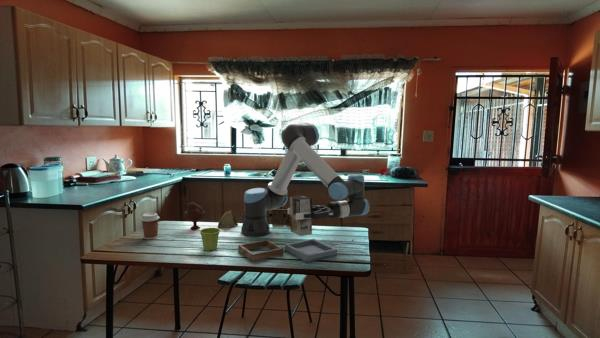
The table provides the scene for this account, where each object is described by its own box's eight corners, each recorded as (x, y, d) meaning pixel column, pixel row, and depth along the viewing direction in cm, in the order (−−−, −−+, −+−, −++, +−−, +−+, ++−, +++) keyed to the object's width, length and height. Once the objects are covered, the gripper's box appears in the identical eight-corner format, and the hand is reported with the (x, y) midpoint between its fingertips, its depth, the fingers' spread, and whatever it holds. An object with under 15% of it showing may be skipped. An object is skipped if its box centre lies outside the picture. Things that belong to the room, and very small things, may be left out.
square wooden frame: (238, 251, 164) (238, 244, 164) (267, 245, 172) (267, 239, 172) (252, 261, 152) (252, 254, 152) (283, 255, 160) (283, 248, 160)
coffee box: (312, 234, 158) (312, 198, 156) (299, 236, 154) (299, 199, 153) (302, 229, 166) (302, 194, 164) (289, 231, 162) (289, 196, 161)
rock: (213, 224, 201) (228, 223, 198) (216, 210, 206) (231, 209, 202) (222, 231, 210) (237, 231, 207) (225, 218, 214) (240, 217, 211)
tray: (285, 250, 166) (285, 244, 165) (313, 244, 174) (313, 238, 174) (306, 263, 151) (306, 256, 150) (336, 255, 159) (337, 249, 159)
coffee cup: (139, 236, 186) (138, 213, 184) (157, 233, 191) (156, 211, 190) (143, 241, 178) (142, 217, 177) (162, 237, 184) (161, 214, 183)
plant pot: (224, 246, 171) (224, 228, 170) (213, 253, 162) (213, 234, 161) (207, 244, 174) (207, 226, 173) (195, 250, 165) (195, 232, 164)
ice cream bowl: (199, 231, 195) (199, 204, 193) (181, 230, 197) (180, 203, 195) (208, 226, 205) (208, 200, 203) (190, 225, 207) (189, 199, 206)
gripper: (349, 223, 156) (301, 228, 148) (326, 212, 176) (283, 216, 168) (349, 206, 155) (301, 210, 147) (326, 197, 176) (283, 200, 167)
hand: (291, 213), depth 157 cm, fingers closed on coffee box, 9 cm apart
